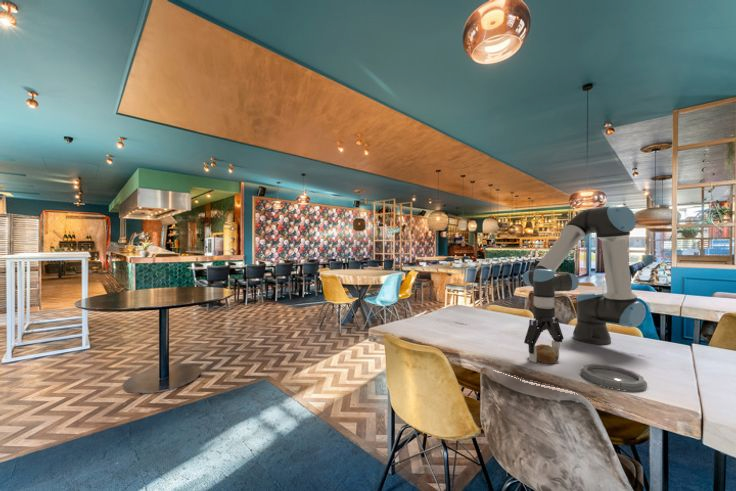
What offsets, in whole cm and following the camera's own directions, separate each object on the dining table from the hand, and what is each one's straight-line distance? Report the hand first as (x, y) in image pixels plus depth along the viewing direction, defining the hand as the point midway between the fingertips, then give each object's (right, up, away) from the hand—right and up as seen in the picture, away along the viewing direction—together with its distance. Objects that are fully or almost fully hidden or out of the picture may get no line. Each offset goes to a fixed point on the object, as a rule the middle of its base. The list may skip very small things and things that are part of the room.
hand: (544, 359), depth 124 cm
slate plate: (+13, 0, -19) cm, 23 cm away
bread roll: (0, -1, 0) cm, 1 cm away
